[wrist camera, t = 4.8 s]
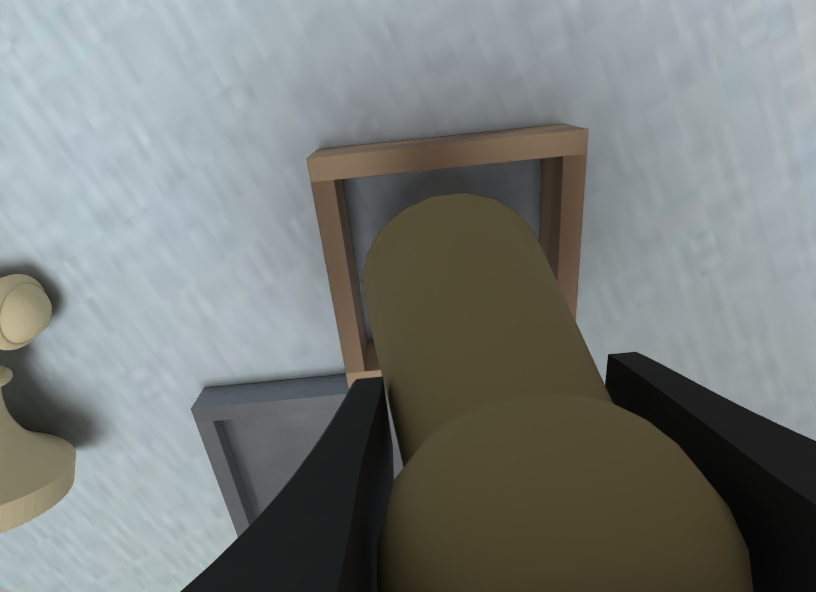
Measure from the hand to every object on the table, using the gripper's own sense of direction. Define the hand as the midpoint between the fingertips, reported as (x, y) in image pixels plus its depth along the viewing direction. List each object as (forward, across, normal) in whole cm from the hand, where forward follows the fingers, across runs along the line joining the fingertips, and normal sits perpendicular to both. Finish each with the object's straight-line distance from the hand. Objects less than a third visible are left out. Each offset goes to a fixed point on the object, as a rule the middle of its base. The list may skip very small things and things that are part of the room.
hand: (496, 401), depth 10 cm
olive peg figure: (+6, 0, -1) cm, 6 cm away
